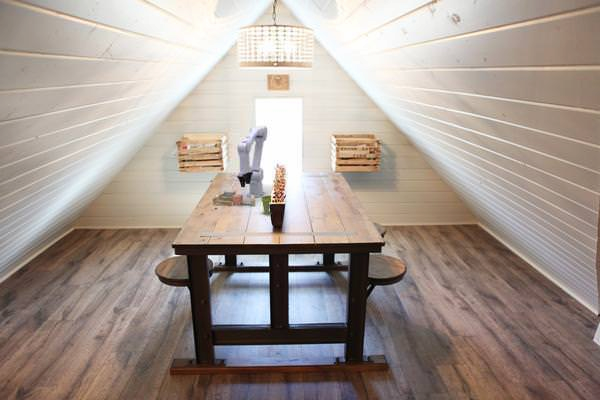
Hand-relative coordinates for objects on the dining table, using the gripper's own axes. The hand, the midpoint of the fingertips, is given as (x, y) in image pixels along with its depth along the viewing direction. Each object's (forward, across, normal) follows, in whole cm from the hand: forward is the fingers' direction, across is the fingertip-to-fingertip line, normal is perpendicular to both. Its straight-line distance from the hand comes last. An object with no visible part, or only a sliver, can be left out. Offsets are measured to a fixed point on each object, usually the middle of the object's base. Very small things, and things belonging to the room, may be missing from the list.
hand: (245, 185), depth 268 cm
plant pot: (+11, -15, -20) cm, 27 cm away
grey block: (+10, +3, +11) cm, 15 cm away
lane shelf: (+10, -1, +11) cm, 15 cm away
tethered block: (+10, -5, -1) cm, 12 cm away
